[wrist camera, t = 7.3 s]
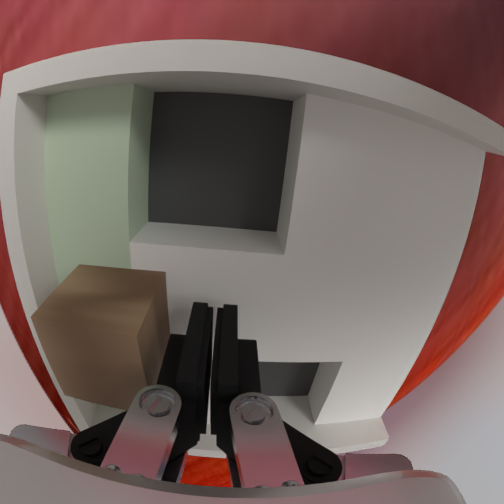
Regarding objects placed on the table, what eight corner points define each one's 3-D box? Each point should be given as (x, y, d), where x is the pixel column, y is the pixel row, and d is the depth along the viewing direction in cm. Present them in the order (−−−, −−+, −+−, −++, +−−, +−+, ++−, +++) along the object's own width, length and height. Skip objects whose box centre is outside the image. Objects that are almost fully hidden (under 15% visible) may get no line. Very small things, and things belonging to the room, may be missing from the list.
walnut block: (165, 271, 11) (136, 336, 7) (171, 347, 13) (154, 415, 9) (79, 264, 11) (30, 316, 7) (95, 336, 12) (64, 394, 9)
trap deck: (451, 127, 12) (517, 136, 7) (364, 395, 19) (383, 445, 15) (68, 82, 10) (3, 73, 6) (101, 380, 18) (80, 432, 13)
